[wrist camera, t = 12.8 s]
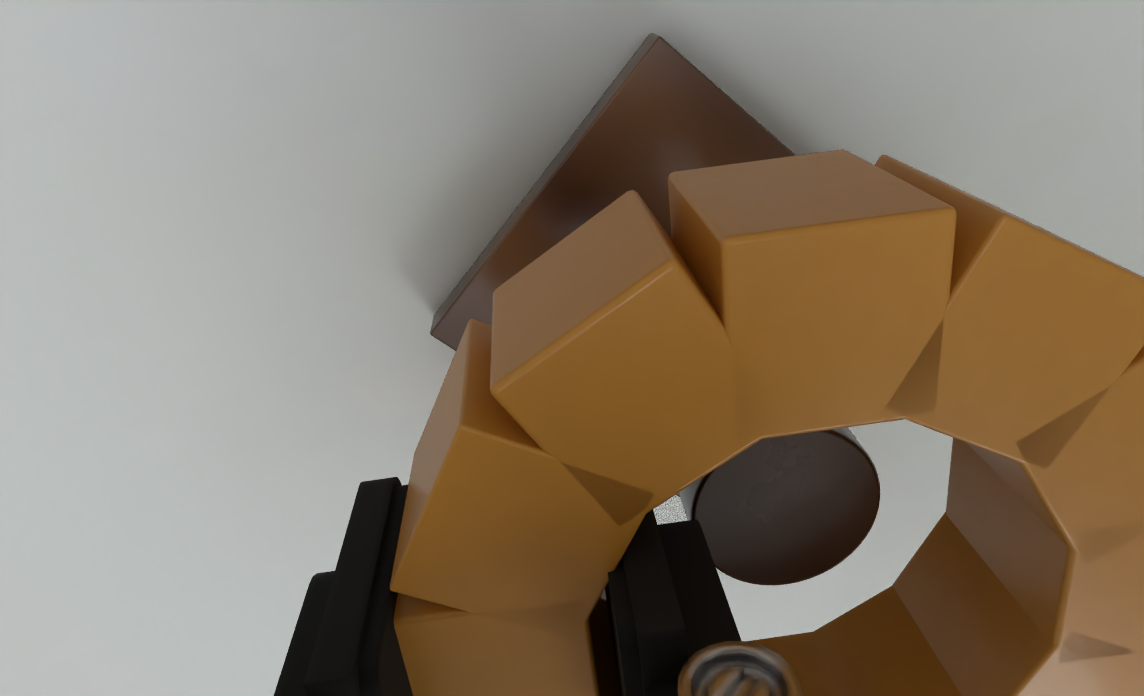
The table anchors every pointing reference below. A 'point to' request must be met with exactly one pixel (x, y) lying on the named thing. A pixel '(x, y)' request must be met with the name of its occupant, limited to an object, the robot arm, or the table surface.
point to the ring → (791, 432)
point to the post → (643, 163)
